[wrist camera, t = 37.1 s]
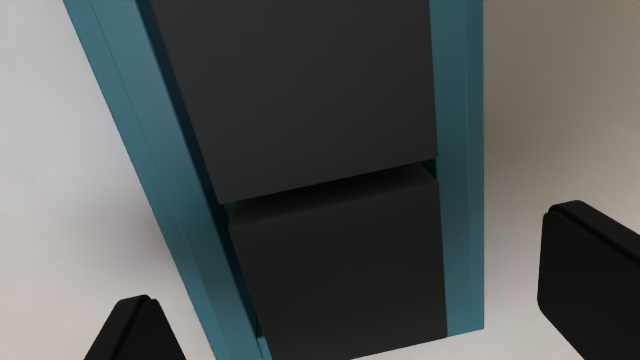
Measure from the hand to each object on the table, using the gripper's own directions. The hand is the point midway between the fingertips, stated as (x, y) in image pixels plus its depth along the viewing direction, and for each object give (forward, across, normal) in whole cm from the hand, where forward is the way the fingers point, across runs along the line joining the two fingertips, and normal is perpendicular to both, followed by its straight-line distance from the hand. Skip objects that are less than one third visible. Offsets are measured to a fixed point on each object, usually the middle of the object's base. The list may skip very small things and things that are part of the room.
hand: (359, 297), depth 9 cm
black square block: (+4, 0, 0) cm, 4 cm away
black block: (+4, 0, -5) cm, 7 cm away
